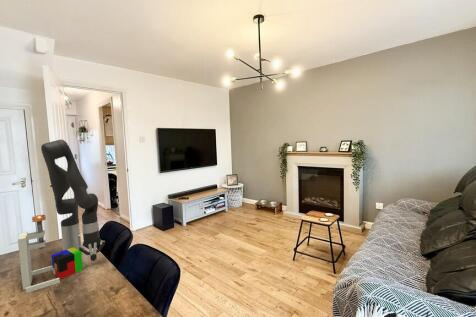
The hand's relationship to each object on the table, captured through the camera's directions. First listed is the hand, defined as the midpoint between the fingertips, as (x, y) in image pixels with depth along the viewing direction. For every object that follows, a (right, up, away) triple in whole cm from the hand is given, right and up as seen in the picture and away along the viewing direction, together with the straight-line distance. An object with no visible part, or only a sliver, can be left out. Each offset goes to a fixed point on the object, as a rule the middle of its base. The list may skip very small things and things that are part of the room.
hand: (93, 260), depth 127 cm
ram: (-17, +12, -14) cm, 25 cm away
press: (-17, -4, -12) cm, 21 cm away
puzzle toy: (-9, -3, -6) cm, 12 cm away
